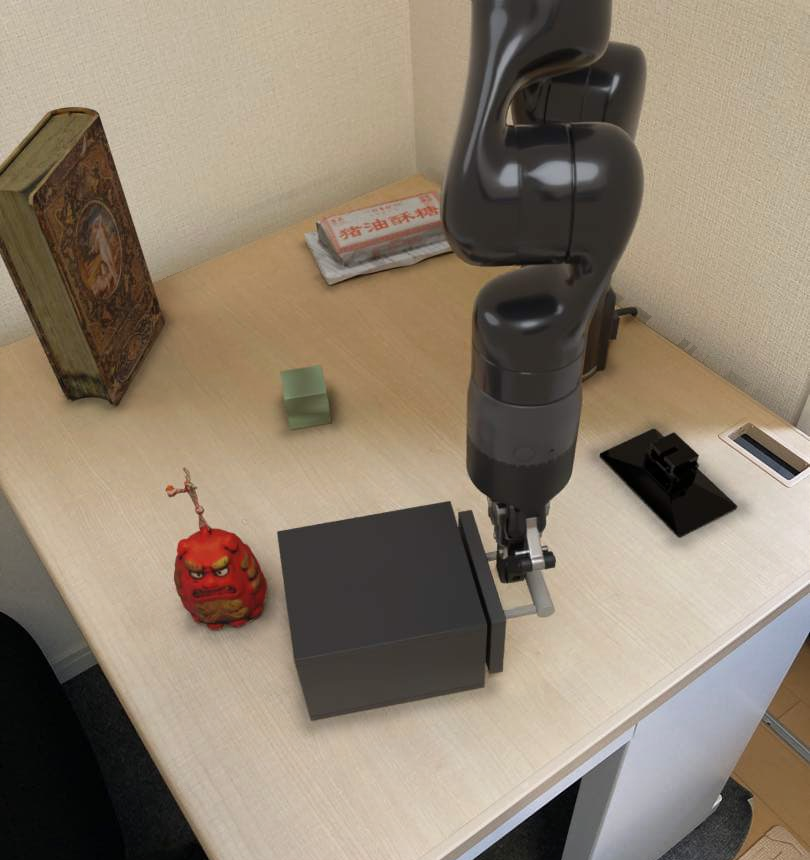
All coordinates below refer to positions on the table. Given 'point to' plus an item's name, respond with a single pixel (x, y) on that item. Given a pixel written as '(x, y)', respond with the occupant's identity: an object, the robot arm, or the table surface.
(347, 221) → the packaged product
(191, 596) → the red clay folk toy
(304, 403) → the block
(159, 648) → the table surface
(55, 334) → the book
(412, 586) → the cabinet
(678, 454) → the build plate
